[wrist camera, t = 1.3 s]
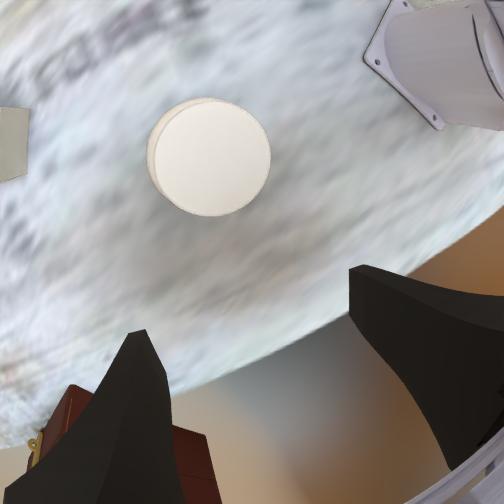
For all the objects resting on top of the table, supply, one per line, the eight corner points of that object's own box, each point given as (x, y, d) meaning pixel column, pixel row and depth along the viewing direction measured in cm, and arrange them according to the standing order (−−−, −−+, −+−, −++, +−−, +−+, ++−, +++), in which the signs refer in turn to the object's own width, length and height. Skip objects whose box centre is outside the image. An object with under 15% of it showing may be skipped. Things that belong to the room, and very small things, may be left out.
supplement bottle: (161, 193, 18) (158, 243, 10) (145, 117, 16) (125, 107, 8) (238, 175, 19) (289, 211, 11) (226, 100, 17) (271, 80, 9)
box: (57, 373, 21) (36, 471, 12) (207, 435, 28) (228, 516, 19) (19, 454, 23) (10, 515, 15) (126, 494, 31) (132, 551, 22)
